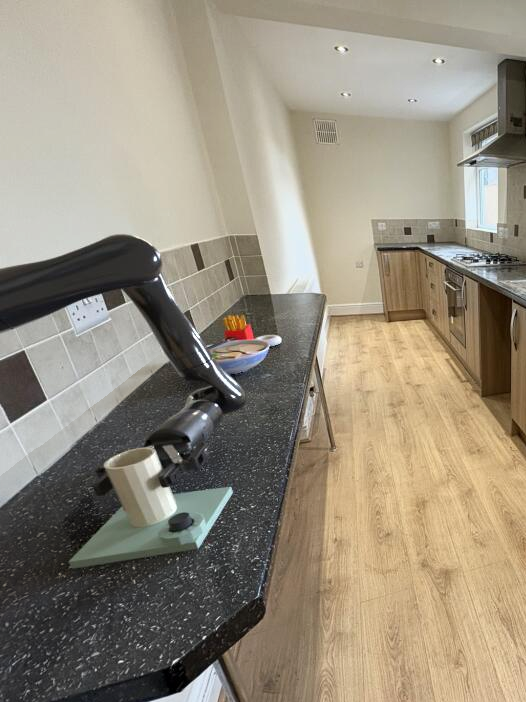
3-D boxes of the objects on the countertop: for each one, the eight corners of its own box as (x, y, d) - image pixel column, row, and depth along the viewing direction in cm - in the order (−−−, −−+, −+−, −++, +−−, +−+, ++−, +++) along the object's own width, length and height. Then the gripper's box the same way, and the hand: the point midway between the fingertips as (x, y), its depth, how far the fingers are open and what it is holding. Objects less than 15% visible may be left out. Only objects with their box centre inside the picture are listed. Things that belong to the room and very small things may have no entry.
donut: (254, 351, 152) (284, 346, 157) (251, 342, 150) (282, 338, 155) (252, 345, 159) (280, 340, 164) (249, 336, 158) (278, 332, 163)
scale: (70, 570, 58) (61, 554, 57) (130, 506, 71) (124, 492, 70) (199, 549, 62) (193, 534, 61) (234, 492, 75) (230, 478, 74)
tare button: (168, 534, 61) (164, 525, 61) (176, 522, 64) (173, 513, 63) (187, 531, 62) (184, 522, 61) (195, 519, 64) (192, 510, 64)
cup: (121, 530, 64) (93, 471, 60) (143, 505, 69) (119, 450, 65) (166, 523, 65) (141, 465, 61) (184, 500, 71) (162, 445, 66)
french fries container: (230, 359, 143) (218, 320, 138) (236, 352, 151) (225, 314, 145) (253, 357, 145) (242, 318, 140) (257, 350, 153) (248, 313, 148)
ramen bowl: (246, 386, 121) (238, 360, 118) (170, 386, 121) (160, 360, 118) (290, 358, 144) (285, 336, 141) (226, 358, 144) (219, 336, 141)
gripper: (131, 422, 74) (64, 473, 60) (219, 413, 77) (176, 460, 63) (145, 457, 77) (85, 514, 63) (229, 447, 80) (191, 499, 66)
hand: (130, 486), depth 63 cm, fingers open, 8 cm apart
